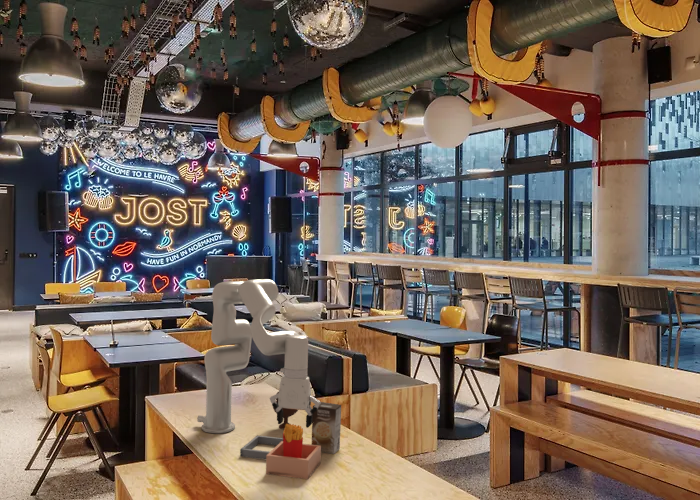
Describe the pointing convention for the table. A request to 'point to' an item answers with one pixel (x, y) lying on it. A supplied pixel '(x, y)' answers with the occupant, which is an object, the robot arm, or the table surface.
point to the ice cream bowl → (286, 415)
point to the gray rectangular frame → (258, 454)
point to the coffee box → (327, 427)
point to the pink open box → (293, 462)
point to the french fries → (292, 441)
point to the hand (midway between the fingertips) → (294, 424)
